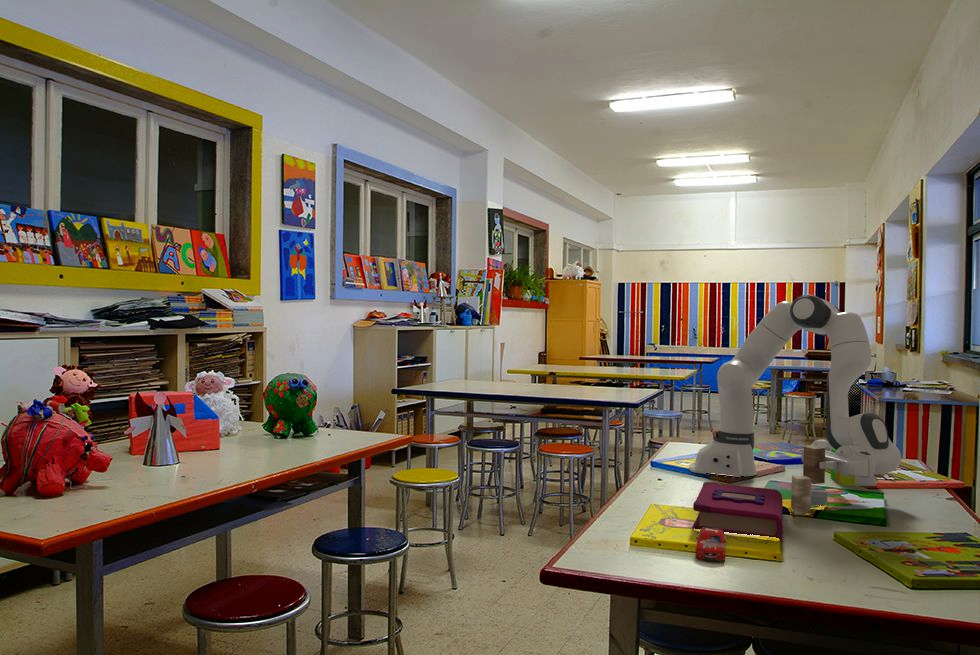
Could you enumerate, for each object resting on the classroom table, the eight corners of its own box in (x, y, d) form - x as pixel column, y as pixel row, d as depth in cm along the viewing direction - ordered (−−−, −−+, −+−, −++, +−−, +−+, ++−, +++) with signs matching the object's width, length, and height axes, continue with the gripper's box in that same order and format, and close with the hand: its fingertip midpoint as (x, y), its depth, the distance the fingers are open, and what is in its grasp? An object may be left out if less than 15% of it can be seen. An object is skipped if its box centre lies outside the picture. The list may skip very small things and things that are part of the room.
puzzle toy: (875, 486, 236) (876, 455, 235) (844, 485, 236) (845, 454, 236) (860, 479, 246) (861, 449, 245) (830, 478, 246) (831, 448, 246)
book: (781, 515, 201) (782, 487, 200) (781, 544, 175) (782, 513, 174) (703, 505, 208) (703, 479, 208) (691, 532, 182) (692, 502, 182)
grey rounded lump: (807, 462, 274) (822, 445, 269) (802, 447, 282) (817, 430, 276) (827, 470, 275) (842, 453, 270) (821, 455, 282) (836, 438, 277)
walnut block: (813, 484, 206) (813, 448, 206) (803, 481, 210) (803, 446, 209) (824, 483, 207) (825, 448, 207) (814, 480, 211) (815, 445, 211)
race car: (725, 566, 158) (726, 544, 158) (693, 562, 160) (694, 540, 160) (727, 544, 173) (728, 523, 173) (698, 540, 176) (699, 520, 176)
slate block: (796, 508, 207) (797, 494, 207) (800, 502, 213) (801, 489, 213) (823, 512, 204) (824, 497, 204) (826, 506, 210) (827, 492, 210)
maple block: (794, 514, 199) (796, 478, 199) (790, 510, 203) (791, 475, 203) (810, 515, 199) (811, 479, 199) (805, 511, 203) (806, 476, 203)
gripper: (824, 443, 222) (786, 445, 218) (878, 456, 203) (838, 459, 198) (823, 464, 222) (786, 466, 218) (878, 479, 203) (838, 482, 198)
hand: (811, 463), depth 208 cm, fingers closed on walnut block, 4 cm apart
